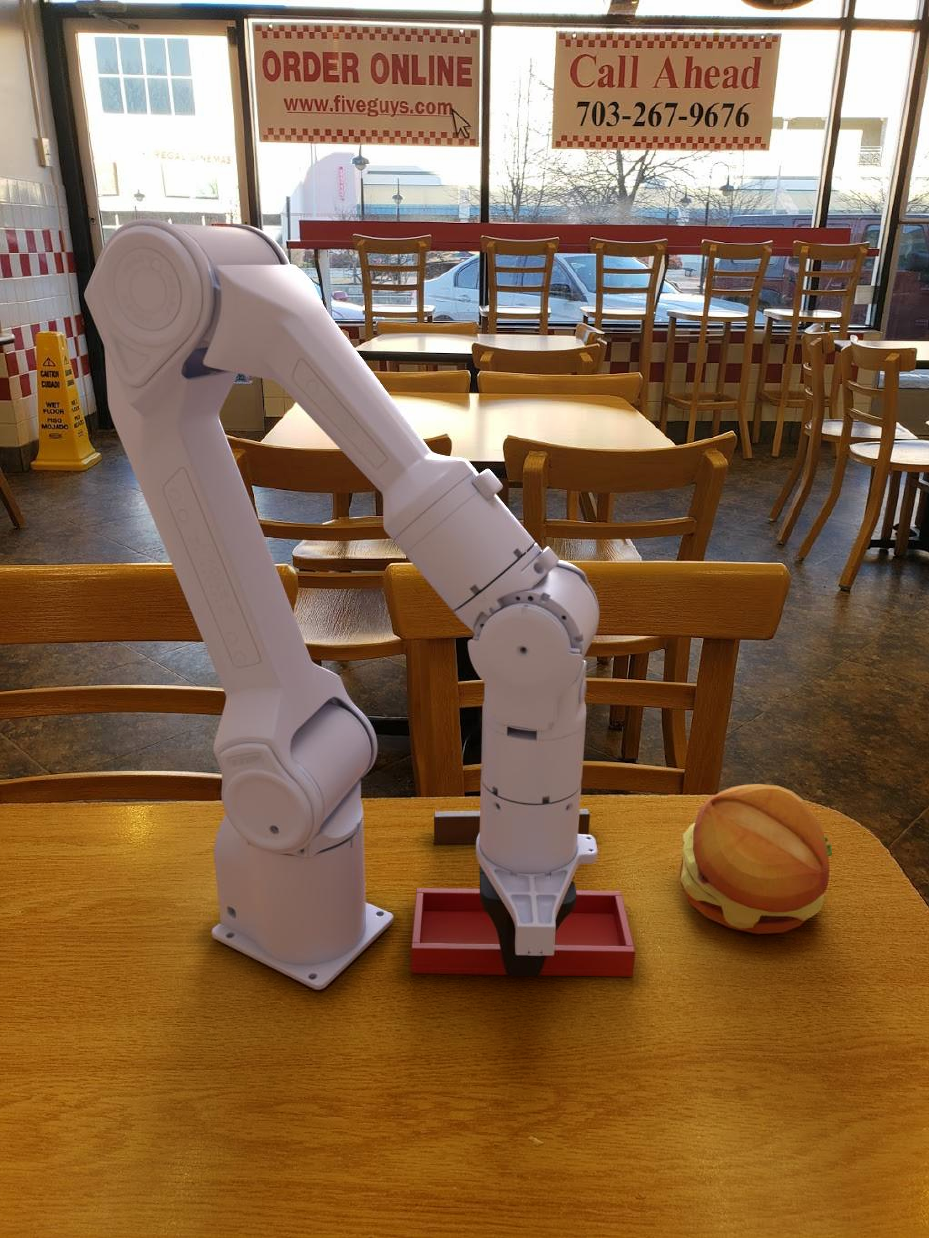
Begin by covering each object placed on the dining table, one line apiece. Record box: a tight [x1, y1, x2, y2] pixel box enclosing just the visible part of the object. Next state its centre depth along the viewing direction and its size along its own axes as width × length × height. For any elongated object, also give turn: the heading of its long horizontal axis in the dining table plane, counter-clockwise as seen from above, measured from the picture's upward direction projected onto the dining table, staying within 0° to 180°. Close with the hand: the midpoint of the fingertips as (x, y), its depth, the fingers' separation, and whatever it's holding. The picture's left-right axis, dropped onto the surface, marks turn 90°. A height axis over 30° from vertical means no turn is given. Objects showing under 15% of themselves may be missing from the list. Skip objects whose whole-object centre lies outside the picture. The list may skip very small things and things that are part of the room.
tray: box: [410, 887, 636, 978], centre depth 62 cm, size 6×14×2 cm, turn 90°
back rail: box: [433, 808, 591, 845], centre depth 73 cm, size 1×12×2 cm, turn 93°
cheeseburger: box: [679, 783, 833, 935], centre depth 65 cm, size 10×11×10 cm
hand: (522, 968), depth 58 cm, fingers closed
